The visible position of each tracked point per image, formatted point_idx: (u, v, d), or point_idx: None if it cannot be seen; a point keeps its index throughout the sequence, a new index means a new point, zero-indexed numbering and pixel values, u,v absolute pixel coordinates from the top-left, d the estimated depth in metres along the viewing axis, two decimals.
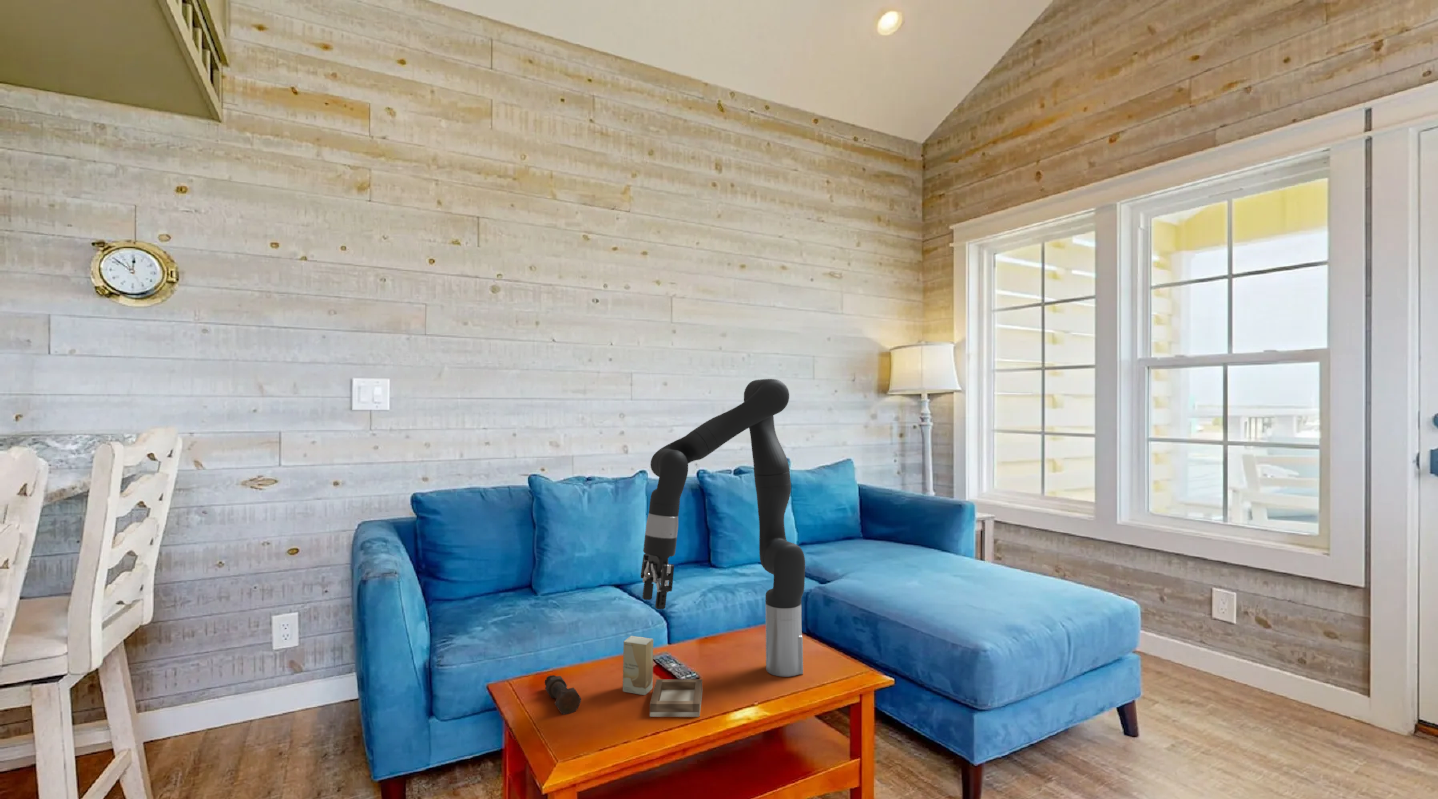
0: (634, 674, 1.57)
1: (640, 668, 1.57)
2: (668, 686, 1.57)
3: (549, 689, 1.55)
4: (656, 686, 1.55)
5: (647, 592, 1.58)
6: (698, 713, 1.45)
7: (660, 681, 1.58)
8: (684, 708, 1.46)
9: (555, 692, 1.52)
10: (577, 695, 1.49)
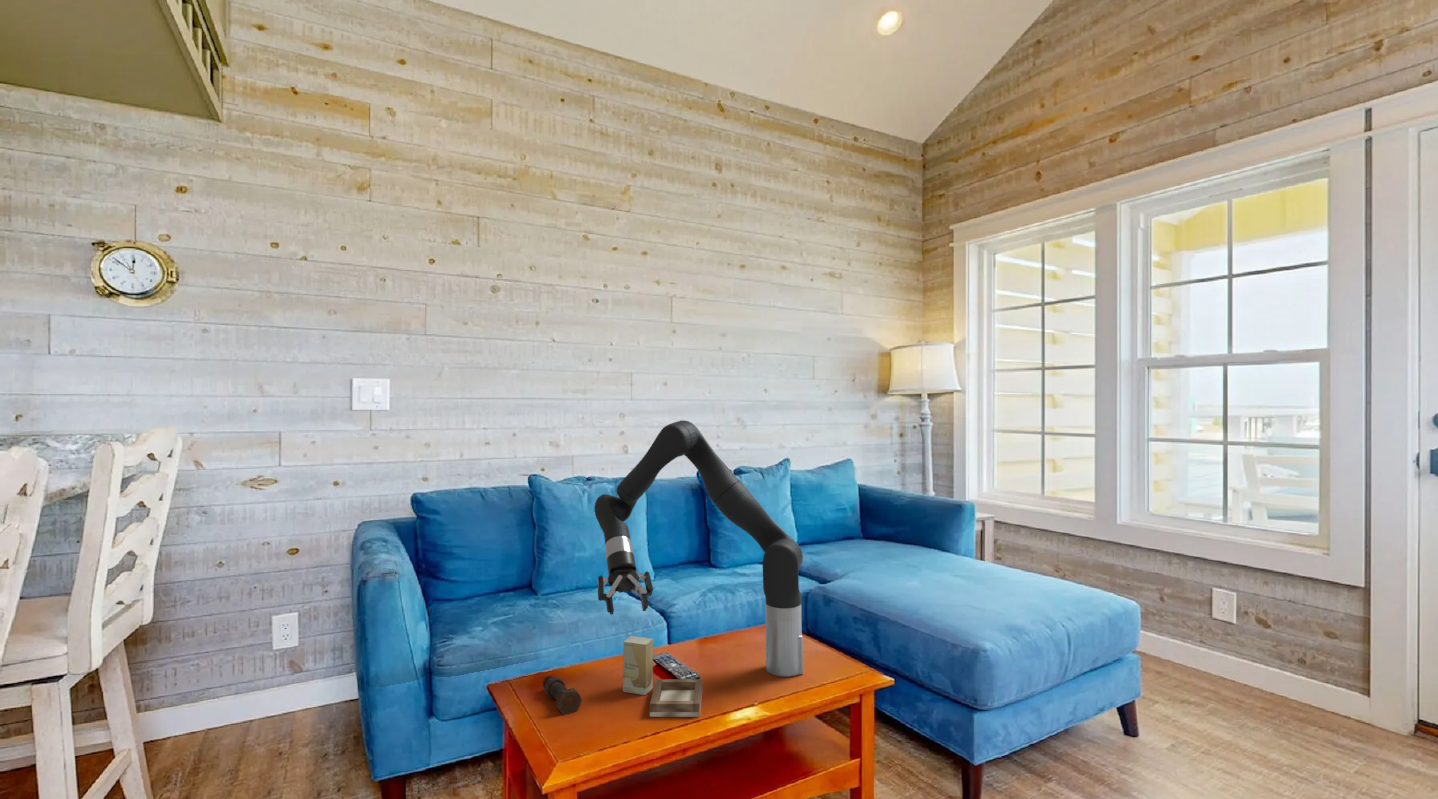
0: (634, 674, 1.57)
1: (640, 668, 1.57)
2: (668, 686, 1.57)
3: (548, 690, 1.55)
4: (656, 686, 1.55)
5: (642, 604, 1.73)
6: (698, 713, 1.45)
7: (660, 681, 1.58)
8: (684, 708, 1.46)
9: (555, 693, 1.52)
10: (578, 695, 1.49)
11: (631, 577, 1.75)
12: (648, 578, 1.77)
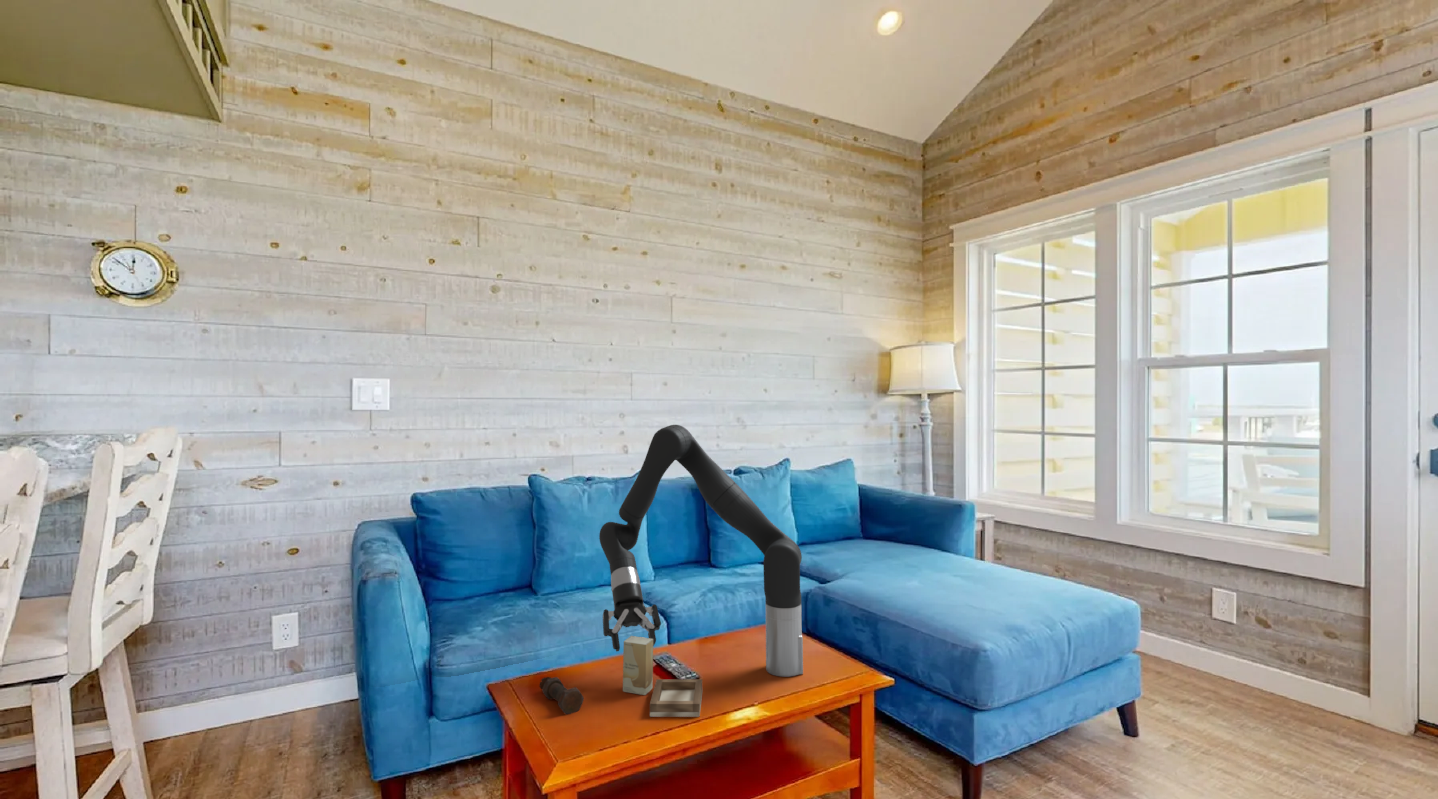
0: (634, 674, 1.57)
1: (640, 668, 1.57)
2: (668, 686, 1.57)
3: (547, 691, 1.54)
4: (656, 686, 1.55)
5: None
6: (698, 713, 1.45)
7: (660, 681, 1.58)
8: (684, 708, 1.46)
9: (555, 693, 1.52)
10: (580, 694, 1.49)
11: (638, 611, 1.67)
12: (656, 612, 1.69)
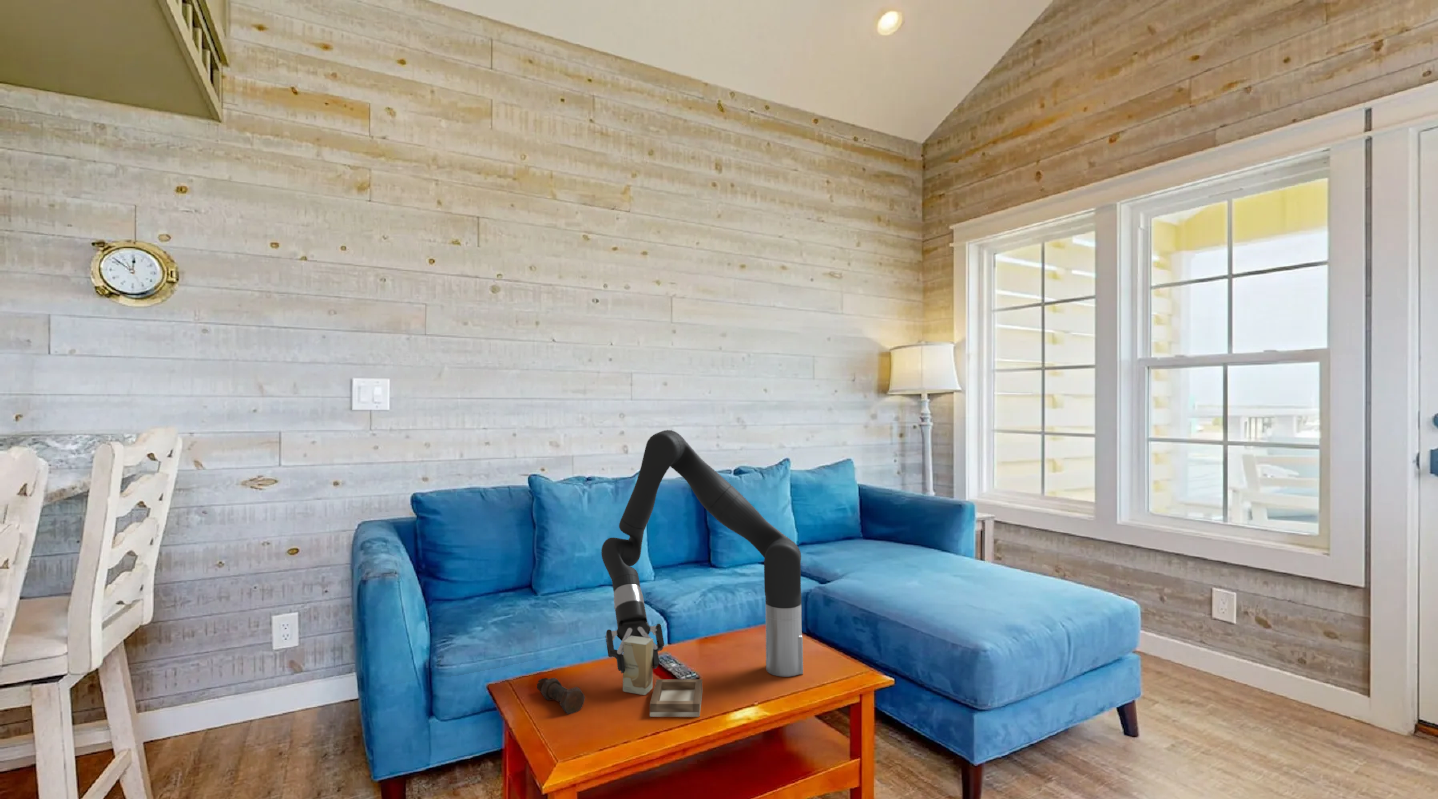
0: (634, 674, 1.57)
1: (640, 668, 1.57)
2: (668, 686, 1.57)
3: (546, 691, 1.54)
4: (656, 686, 1.55)
5: None
6: (698, 713, 1.45)
7: (660, 681, 1.58)
8: (684, 708, 1.46)
9: (555, 693, 1.52)
10: (581, 694, 1.49)
11: (641, 630, 1.63)
12: (660, 632, 1.65)
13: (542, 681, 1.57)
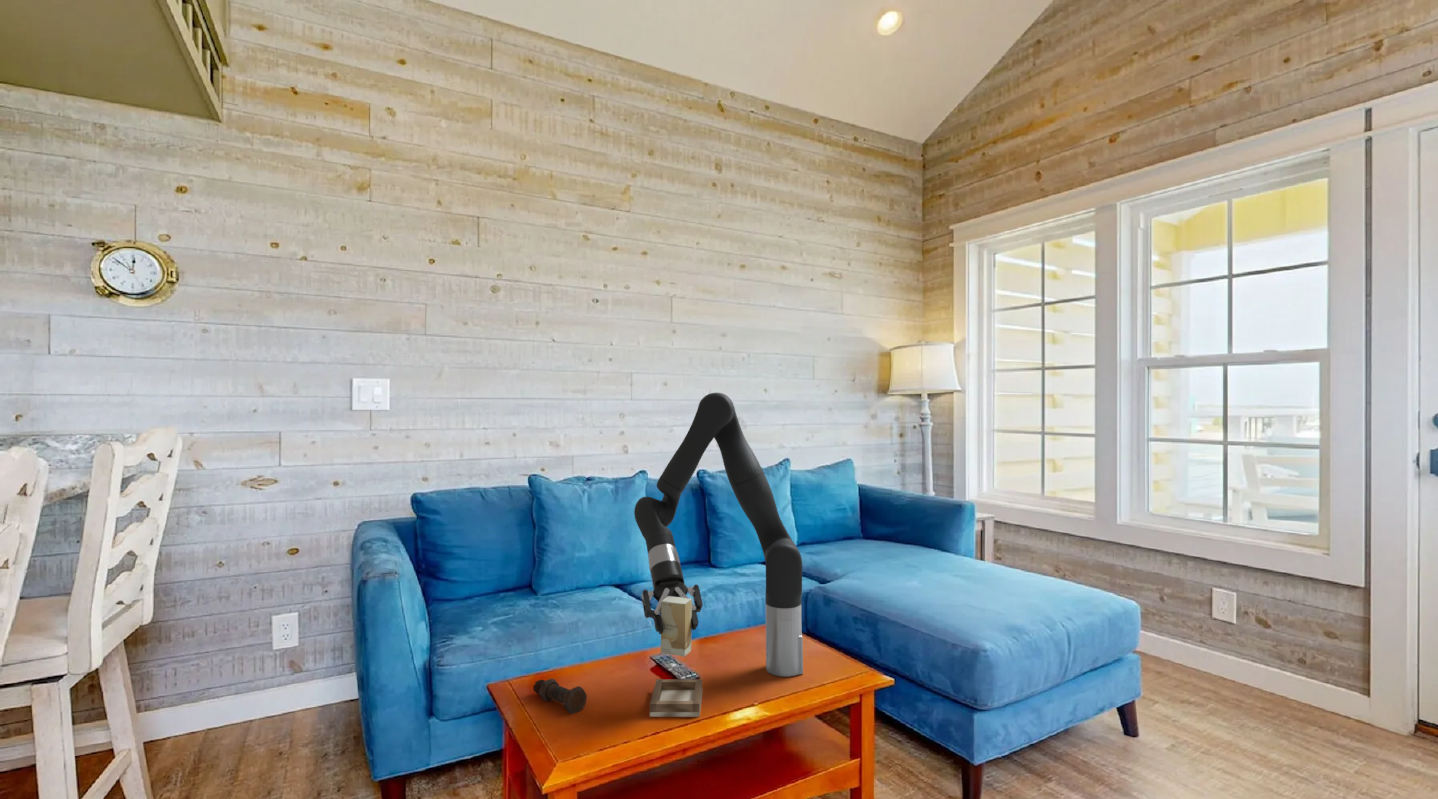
0: (672, 634, 1.50)
1: (679, 628, 1.50)
2: (668, 686, 1.57)
3: (545, 693, 1.53)
4: (656, 686, 1.55)
5: None
6: (698, 713, 1.45)
7: (660, 681, 1.58)
8: (684, 708, 1.46)
9: (556, 694, 1.51)
10: (584, 693, 1.50)
11: (679, 590, 1.56)
12: (698, 593, 1.58)
13: (539, 683, 1.56)
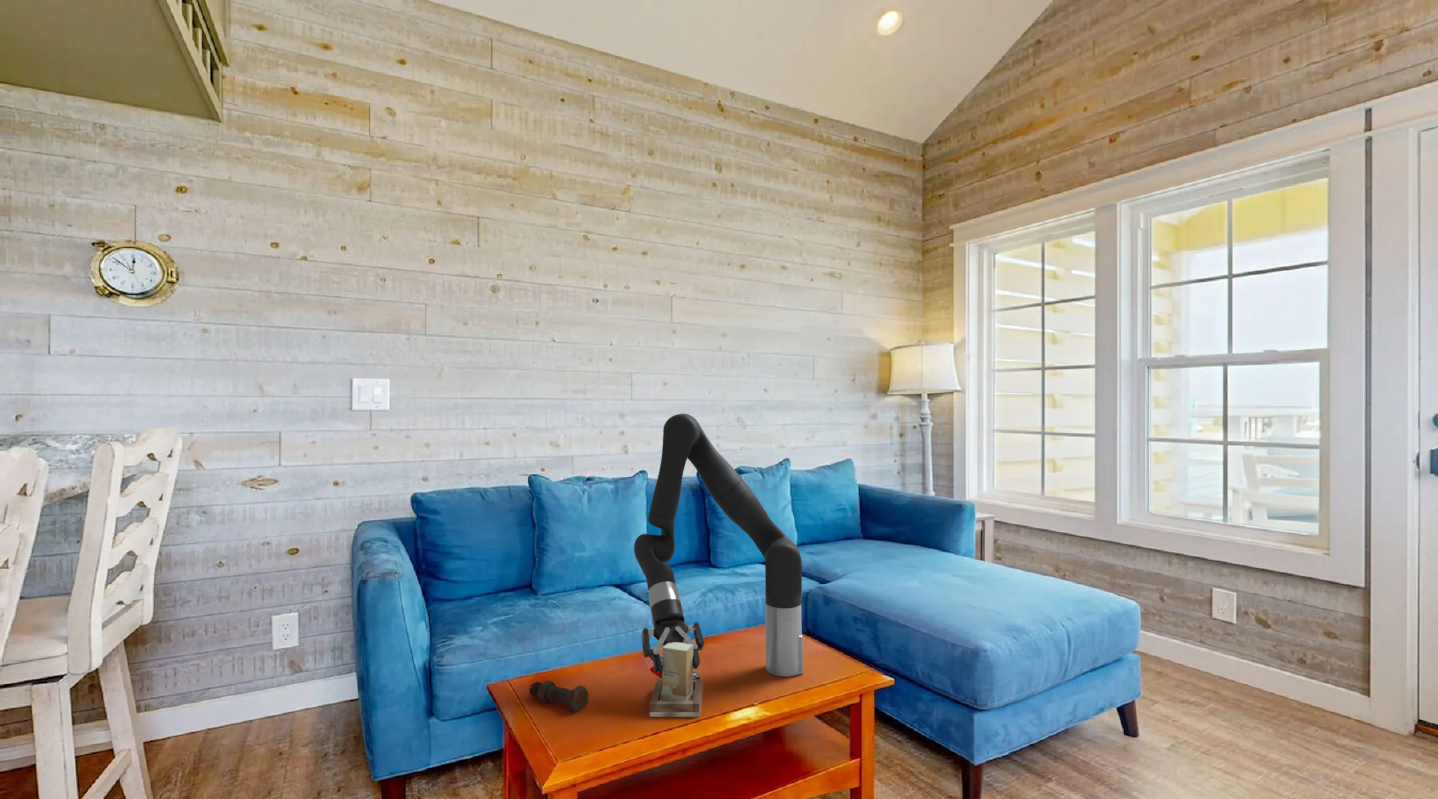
0: (673, 681, 1.50)
1: (680, 675, 1.50)
2: None
3: (544, 695, 1.52)
4: (656, 686, 1.55)
5: (693, 660, 1.53)
6: (698, 713, 1.45)
7: (660, 681, 1.58)
8: (684, 708, 1.46)
9: (556, 695, 1.51)
10: (586, 691, 1.51)
11: (680, 630, 1.56)
12: (699, 631, 1.58)
13: (535, 685, 1.55)
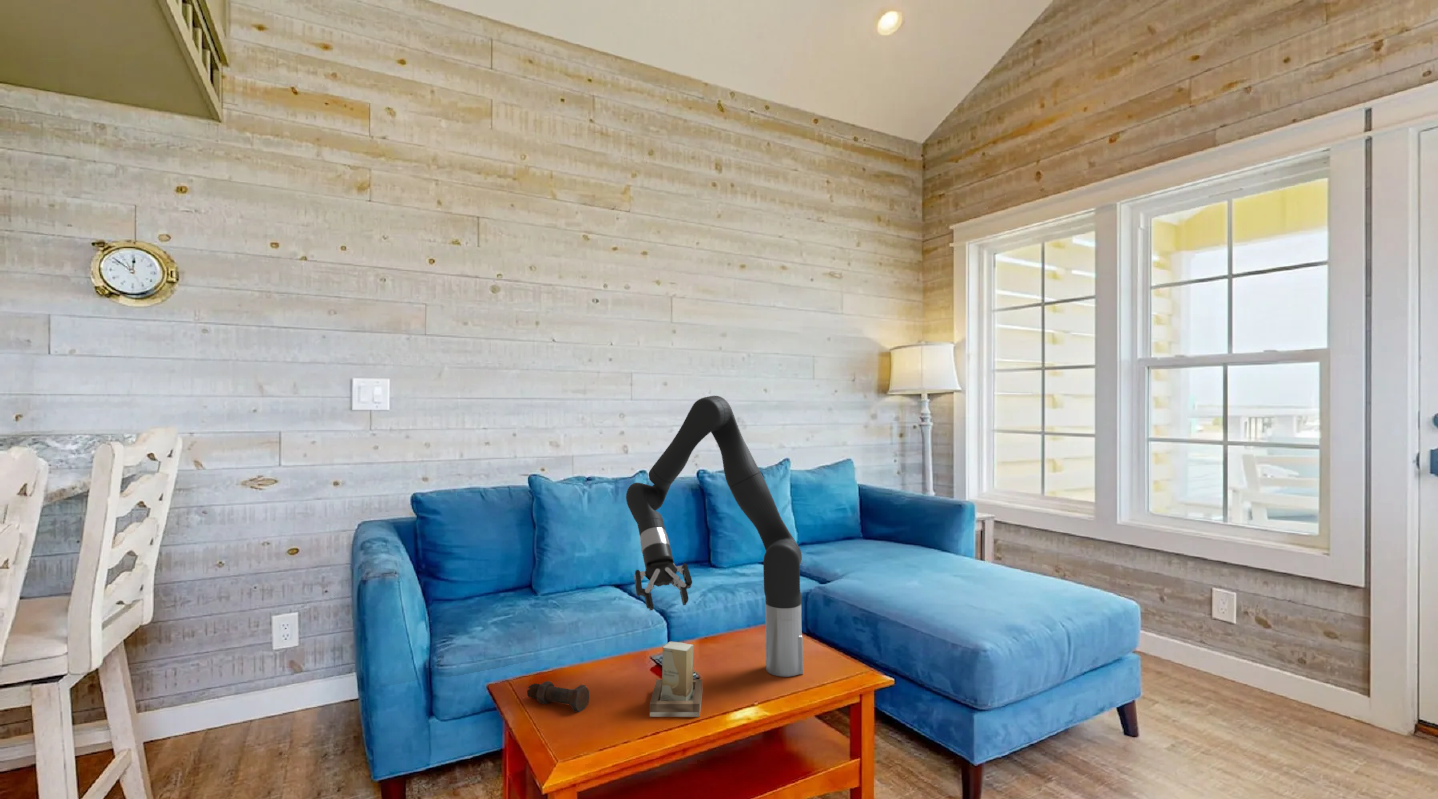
0: (673, 681, 1.50)
1: (680, 675, 1.50)
2: None
3: (543, 696, 1.52)
4: (656, 686, 1.55)
5: (682, 598, 1.67)
6: (698, 713, 1.45)
7: (660, 681, 1.58)
8: (684, 708, 1.46)
9: (557, 695, 1.51)
10: (587, 690, 1.51)
11: (669, 570, 1.69)
12: (687, 571, 1.71)
13: (533, 687, 1.54)
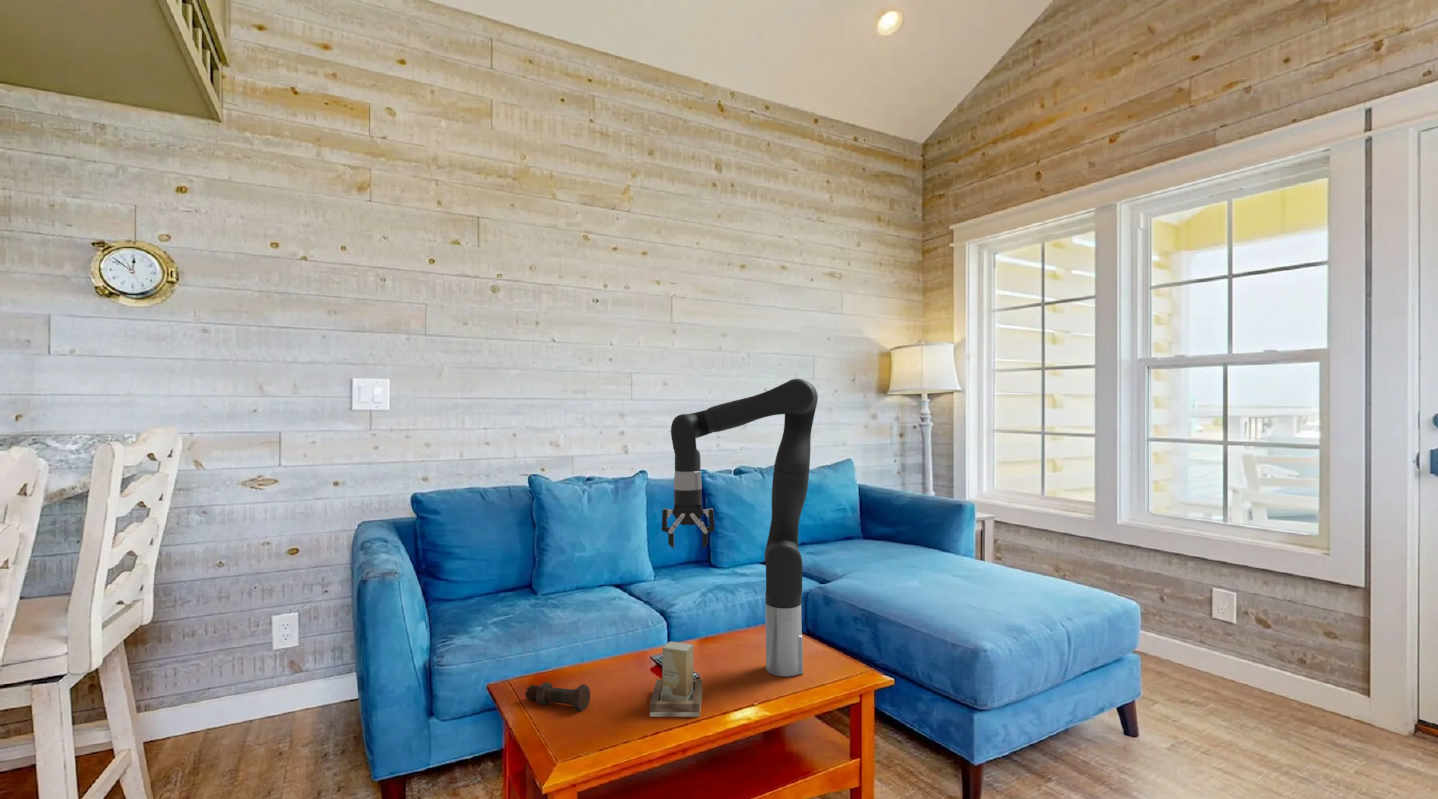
0: (673, 681, 1.50)
1: (680, 675, 1.50)
2: None
3: (543, 697, 1.51)
4: (656, 686, 1.55)
5: None
6: (698, 713, 1.45)
7: (660, 681, 1.58)
8: (684, 708, 1.46)
9: (558, 696, 1.50)
10: (588, 690, 1.52)
11: (693, 516, 1.77)
12: (711, 517, 1.78)
13: (532, 688, 1.53)
